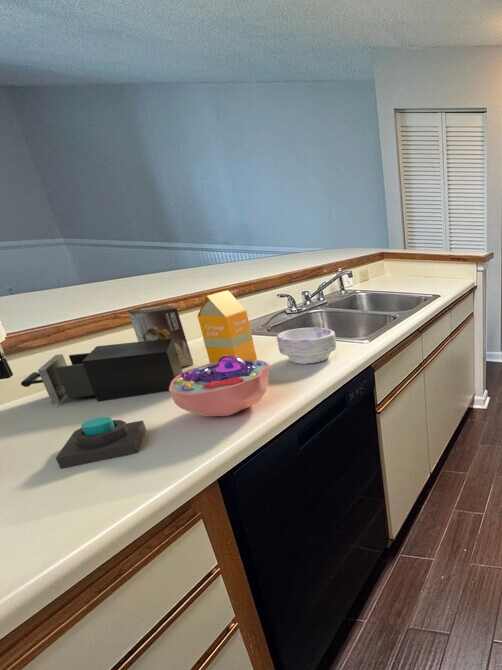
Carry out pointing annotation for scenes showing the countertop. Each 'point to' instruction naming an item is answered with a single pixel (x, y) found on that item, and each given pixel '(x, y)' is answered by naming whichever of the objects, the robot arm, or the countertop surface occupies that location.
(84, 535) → the countertop surface
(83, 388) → the drawer
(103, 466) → the countertop surface
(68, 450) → the control block
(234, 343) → the orange juice
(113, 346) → the cabinet
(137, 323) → the coffee box
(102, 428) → the button
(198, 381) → the cell model
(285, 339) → the paper bowls
